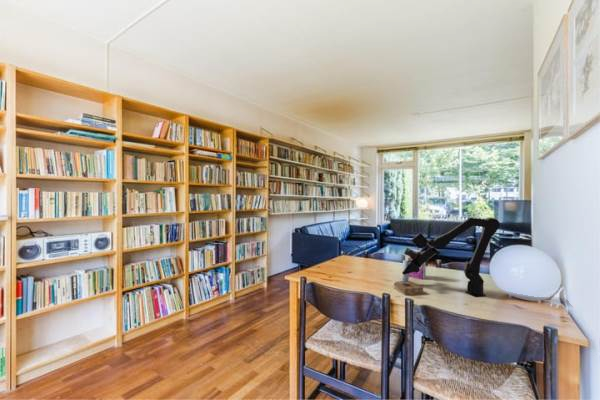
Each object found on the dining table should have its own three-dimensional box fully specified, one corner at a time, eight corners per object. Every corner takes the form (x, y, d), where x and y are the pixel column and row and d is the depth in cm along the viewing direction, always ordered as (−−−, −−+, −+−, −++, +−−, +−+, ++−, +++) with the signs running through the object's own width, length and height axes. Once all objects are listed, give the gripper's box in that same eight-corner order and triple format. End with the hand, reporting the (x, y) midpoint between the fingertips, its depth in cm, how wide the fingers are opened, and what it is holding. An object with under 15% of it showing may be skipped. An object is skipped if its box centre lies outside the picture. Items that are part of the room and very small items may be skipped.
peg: (406, 283, 155) (406, 260, 155) (409, 285, 152) (409, 261, 152) (401, 283, 155) (401, 260, 155) (404, 285, 152) (404, 261, 152)
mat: (410, 281, 161) (410, 280, 161) (421, 286, 151) (421, 285, 151) (394, 282, 159) (394, 281, 159) (404, 287, 149) (404, 287, 149)
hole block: (411, 288, 149) (411, 281, 149) (423, 294, 139) (423, 287, 139) (394, 289, 147) (394, 282, 147) (405, 296, 137) (405, 288, 137)
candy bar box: (404, 276, 170) (404, 249, 170) (407, 274, 174) (407, 248, 174) (422, 280, 163) (423, 252, 162) (426, 278, 166) (426, 251, 166)
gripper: (414, 241, 160) (394, 258, 165) (412, 246, 143) (389, 265, 148) (429, 256, 157) (408, 273, 162) (429, 263, 140) (405, 282, 145)
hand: (403, 273), depth 154 cm, fingers closed on peg, 3 cm apart
